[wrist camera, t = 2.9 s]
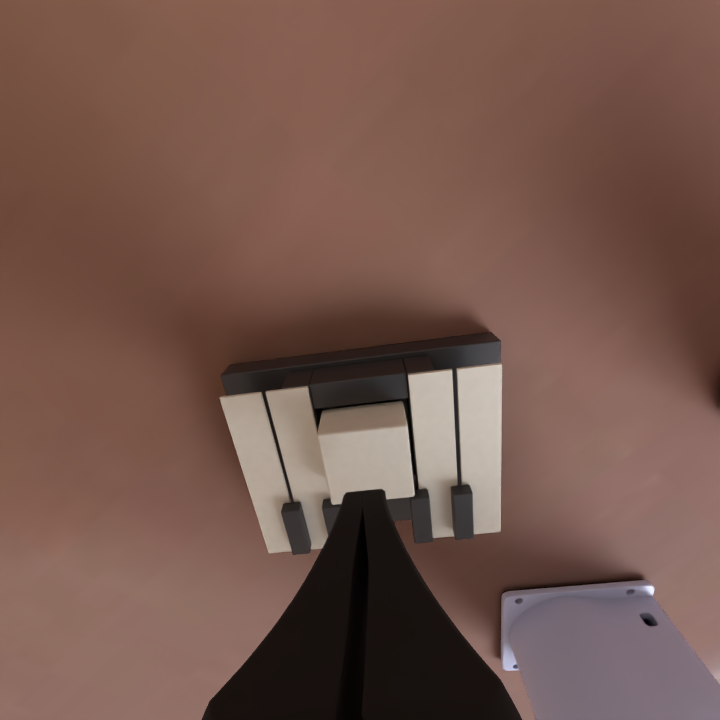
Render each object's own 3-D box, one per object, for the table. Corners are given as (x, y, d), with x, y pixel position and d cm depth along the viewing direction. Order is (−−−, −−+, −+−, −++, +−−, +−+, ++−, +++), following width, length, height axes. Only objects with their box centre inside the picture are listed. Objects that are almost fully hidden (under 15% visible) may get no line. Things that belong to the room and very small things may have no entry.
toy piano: (229, 364, 18) (204, 391, 15) (491, 331, 17) (516, 353, 15) (274, 515, 22) (260, 560, 19) (492, 494, 21) (511, 537, 18)
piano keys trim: (220, 396, 15) (213, 405, 15) (500, 362, 15) (507, 370, 14) (269, 550, 19) (265, 563, 18) (499, 529, 18) (505, 542, 17)
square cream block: (322, 409, 16) (316, 435, 14) (402, 399, 16) (407, 424, 14) (334, 474, 17) (331, 505, 16) (409, 466, 17) (415, 497, 15)
